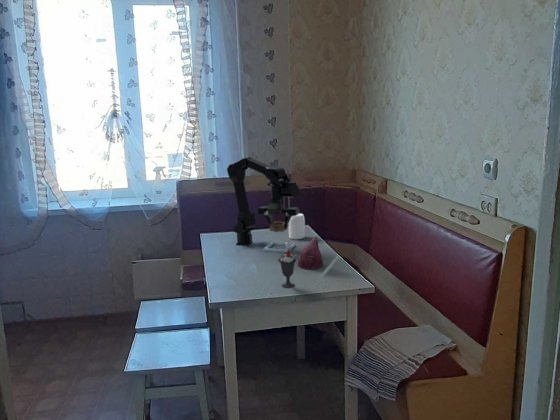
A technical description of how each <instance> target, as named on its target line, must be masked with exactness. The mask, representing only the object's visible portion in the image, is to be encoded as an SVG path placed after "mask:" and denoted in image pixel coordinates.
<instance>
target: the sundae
mask: <svg viewBox="0 0 560 420" xmlns="http://www.w3.org/2000/svg"><path fill="white" fill-rule="evenodd" d="M289 250H290V248H289V249H288V252H283V254H282V255H283V257H282V258H281V257H280V258H278V262H279V264H280V267H281V272H282V275H283V276H284V277H285V279H286V280H285V283H283V284H281V287H282V288H283V289H291V288H295V286H296V285H295V284H294V282H293V283H292V282H291V280H290V277H292V275H293V274H294V271H295V263H296V262H297V258H296V257H295V258H294V257H293V256H292V252H291V250H290V251H289Z"/></svg>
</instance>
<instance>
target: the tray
mask: <svg viewBox="0 0 560 420" xmlns="http://www.w3.org/2000/svg"><path fill="white" fill-rule="evenodd" d="M273 246H283V247H284V246H285V247H286V242H281V241H271V242H270V243H269V244H268V245H266V246H264V247H263V251H264V252H275V253H285V252H286V248H271V247H273ZM294 247H296V243H295V242H290V251H291V250H292V249H293V248H294Z"/></svg>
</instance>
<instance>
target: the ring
mask: <svg viewBox="0 0 560 420" xmlns="http://www.w3.org/2000/svg"><path fill="white" fill-rule="evenodd" d="M286 230H289V225H288V226H287V229H286ZM286 230H285V221H273V223H271V224H269V232H274V233H281V232H282V233H284V232H285V231H286Z"/></svg>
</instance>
